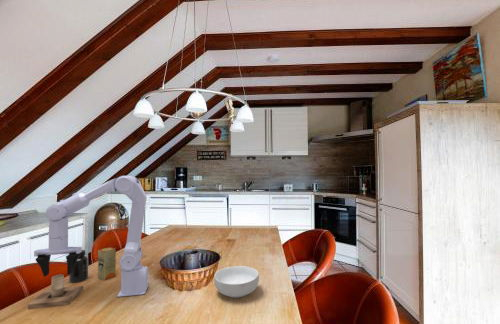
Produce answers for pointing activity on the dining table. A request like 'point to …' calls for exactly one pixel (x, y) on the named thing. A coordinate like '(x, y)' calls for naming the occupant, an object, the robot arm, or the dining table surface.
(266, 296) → the dining table surface
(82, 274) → the supplement bottle
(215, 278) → the cereal bowl
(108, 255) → the shoe polish box
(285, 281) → the dining table surface
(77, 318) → the dining table surface
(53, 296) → the peg
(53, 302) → the socket block
